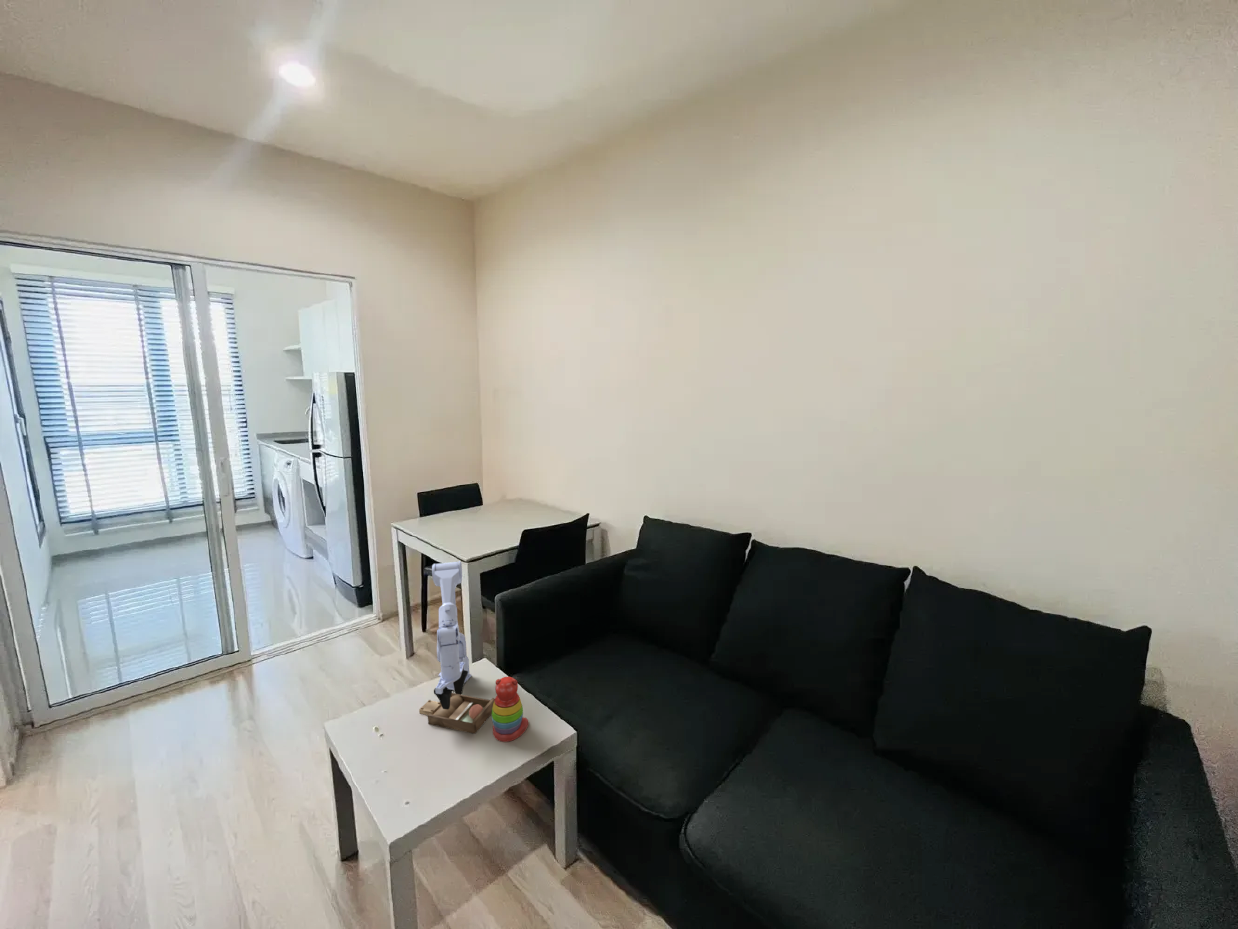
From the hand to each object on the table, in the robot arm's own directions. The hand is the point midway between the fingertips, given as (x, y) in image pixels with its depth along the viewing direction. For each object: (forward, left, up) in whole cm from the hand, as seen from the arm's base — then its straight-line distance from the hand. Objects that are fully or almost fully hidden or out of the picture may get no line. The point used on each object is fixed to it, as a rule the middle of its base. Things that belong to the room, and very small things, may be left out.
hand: (452, 700), depth 159 cm
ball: (0, +9, -2) cm, 9 cm away
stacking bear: (+2, +21, -5) cm, 22 cm away
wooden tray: (0, +3, -8) cm, 9 cm away
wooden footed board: (0, -8, -5) cm, 10 cm away
